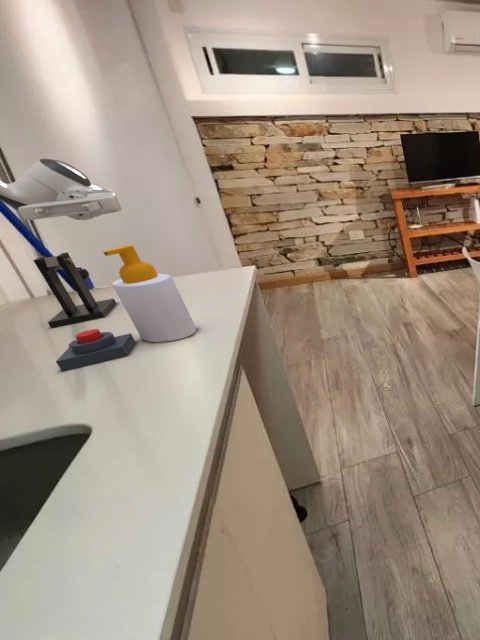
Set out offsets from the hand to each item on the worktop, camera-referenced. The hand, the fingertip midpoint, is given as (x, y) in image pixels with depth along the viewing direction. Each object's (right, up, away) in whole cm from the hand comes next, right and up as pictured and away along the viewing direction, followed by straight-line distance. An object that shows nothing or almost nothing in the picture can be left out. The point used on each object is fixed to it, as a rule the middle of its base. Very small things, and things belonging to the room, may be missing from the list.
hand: (63, 210), depth 130 cm
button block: (+42, -38, -31) cm, 65 cm away
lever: (+10, -19, -8) cm, 23 cm away
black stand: (+13, -29, -7) cm, 32 cm away
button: (+42, -35, -32) cm, 63 cm away
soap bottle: (+49, -34, -22) cm, 64 cm away
